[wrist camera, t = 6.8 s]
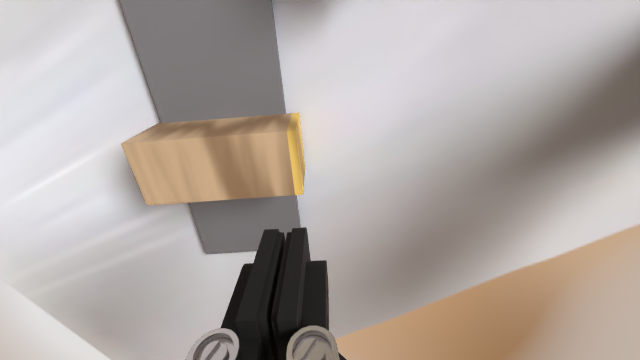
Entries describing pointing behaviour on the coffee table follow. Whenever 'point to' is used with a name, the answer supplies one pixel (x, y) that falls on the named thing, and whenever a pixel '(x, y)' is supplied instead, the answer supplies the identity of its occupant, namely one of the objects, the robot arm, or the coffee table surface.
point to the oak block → (218, 159)
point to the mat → (215, 93)
